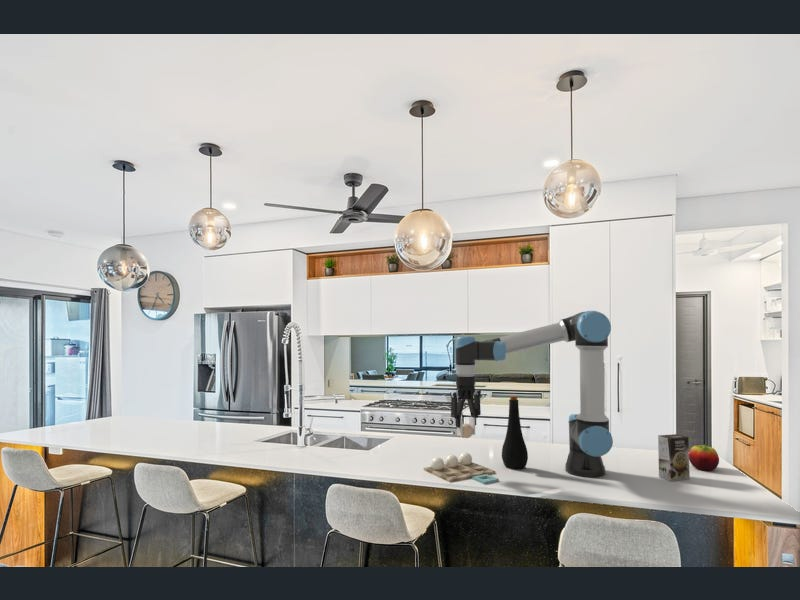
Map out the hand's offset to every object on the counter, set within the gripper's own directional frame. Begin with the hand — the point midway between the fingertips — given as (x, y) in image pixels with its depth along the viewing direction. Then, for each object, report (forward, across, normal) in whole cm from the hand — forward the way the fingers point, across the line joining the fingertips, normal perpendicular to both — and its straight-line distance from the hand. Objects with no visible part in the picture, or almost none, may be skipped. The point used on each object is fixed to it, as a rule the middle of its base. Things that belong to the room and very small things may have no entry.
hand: (466, 434), depth 194 cm
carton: (+17, 0, -5) cm, 17 cm away
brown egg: (+1, 0, 0) cm, 1 cm away
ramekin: (+17, -2, +9) cm, 19 cm away
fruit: (+17, -91, +40) cm, 101 cm away
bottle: (+17, -24, +1) cm, 29 cm away
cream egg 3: (+16, -7, -10) cm, 20 cm away
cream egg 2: (+16, 0, -10) cm, 18 cm away
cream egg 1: (+16, +7, -10) cm, 20 cm away
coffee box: (+17, -69, +41) cm, 82 cm away
